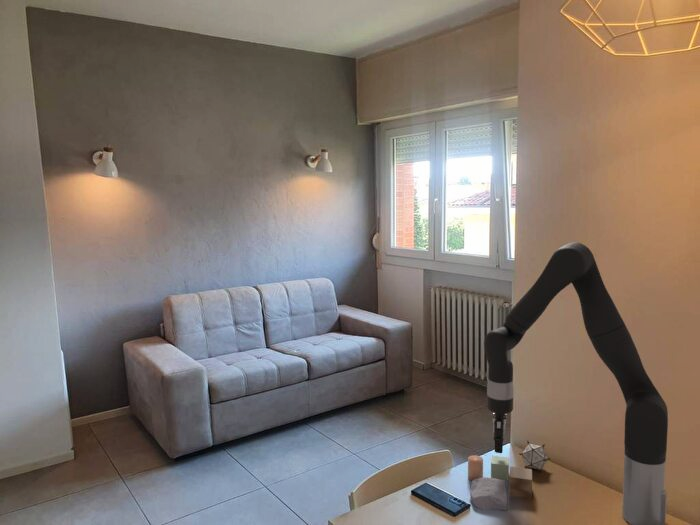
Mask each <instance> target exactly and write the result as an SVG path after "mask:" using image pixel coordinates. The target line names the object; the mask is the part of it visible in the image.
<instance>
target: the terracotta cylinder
mask: <svg viewBox="0 0 700 525" xmlns="http://www.w3.org/2000/svg"><path fill="white" fill-rule="evenodd" d="M483 477H484V459H483V457H481V456H480V455H474V454H473V455H469V456H468V457H467V478H468V480H469V481H471V480H472V481H474V480H475V479H477V478H483ZM472 481H471V482H472Z"/></svg>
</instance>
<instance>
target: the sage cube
mask: <svg viewBox="0 0 700 525" xmlns="http://www.w3.org/2000/svg"><path fill="white" fill-rule="evenodd" d="M490 461H491V462H490V478H495V479H500V480H505V482H509V477H510V457H507V456H501V455H500V456H498V455H491V460H490Z"/></svg>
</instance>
